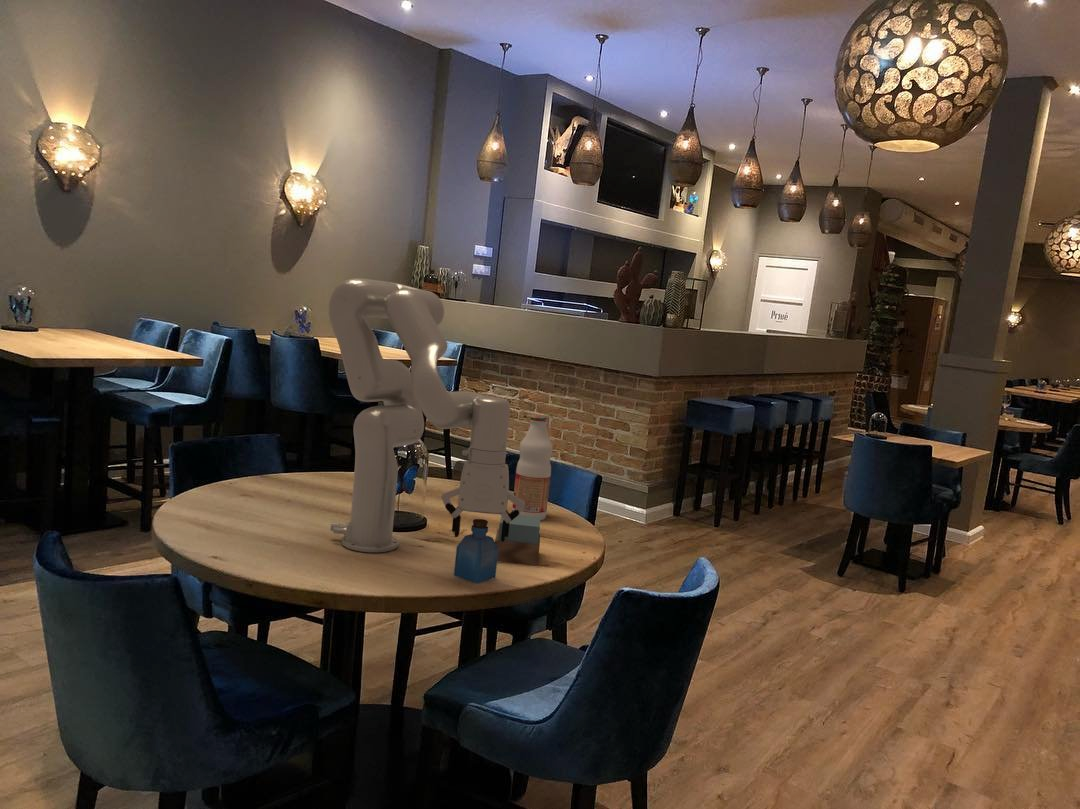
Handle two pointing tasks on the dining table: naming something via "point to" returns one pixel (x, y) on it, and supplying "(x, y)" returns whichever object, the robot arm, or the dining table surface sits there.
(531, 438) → the fruit juice
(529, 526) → the tower top
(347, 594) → the dining table surface
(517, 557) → the tower base
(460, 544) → the perfume bottle
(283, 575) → the dining table surface
